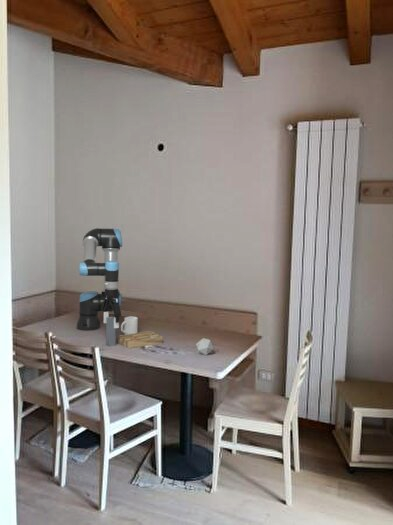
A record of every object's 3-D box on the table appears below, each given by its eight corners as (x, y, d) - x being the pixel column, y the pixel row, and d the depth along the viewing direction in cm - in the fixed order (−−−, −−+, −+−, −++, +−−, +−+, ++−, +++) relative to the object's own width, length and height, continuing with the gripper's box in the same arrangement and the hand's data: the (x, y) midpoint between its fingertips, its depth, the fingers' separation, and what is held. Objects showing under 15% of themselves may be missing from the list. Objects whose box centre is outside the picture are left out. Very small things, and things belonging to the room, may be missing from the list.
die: (198, 351, 264) (191, 339, 259) (212, 344, 264) (206, 332, 259) (202, 361, 257) (195, 349, 252) (217, 353, 257) (210, 341, 252)
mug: (124, 337, 284) (125, 321, 282) (116, 334, 289) (116, 318, 288) (140, 334, 292) (140, 318, 291) (131, 331, 298) (131, 315, 297)
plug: (106, 344, 268) (106, 317, 266) (112, 343, 271) (112, 316, 269) (109, 346, 265) (109, 318, 263) (115, 345, 267) (115, 318, 265)
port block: (117, 342, 274) (118, 335, 273) (150, 337, 286) (150, 330, 286) (129, 348, 262) (129, 341, 262) (162, 343, 275) (162, 336, 275)
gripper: (96, 285, 272) (95, 321, 274) (115, 292, 252) (114, 330, 254) (108, 285, 276) (107, 320, 278) (127, 291, 256) (127, 329, 258)
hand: (111, 325), depth 266 cm, fingers open, 13 cm apart
